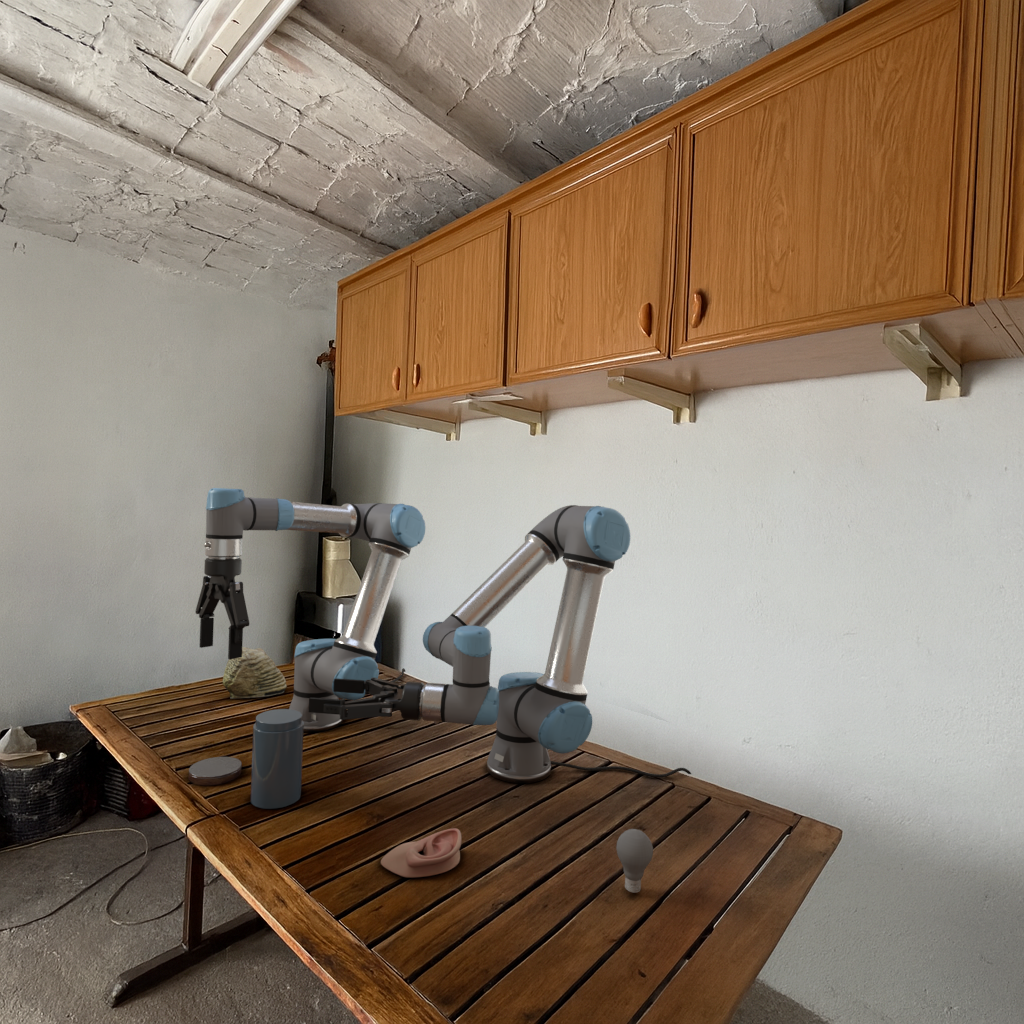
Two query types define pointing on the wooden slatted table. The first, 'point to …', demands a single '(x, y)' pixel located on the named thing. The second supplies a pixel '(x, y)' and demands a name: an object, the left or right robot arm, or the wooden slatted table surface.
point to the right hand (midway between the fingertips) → (322, 694)
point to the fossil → (253, 675)
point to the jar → (277, 758)
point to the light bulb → (634, 857)
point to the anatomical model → (425, 855)
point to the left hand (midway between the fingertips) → (220, 652)
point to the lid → (215, 771)
